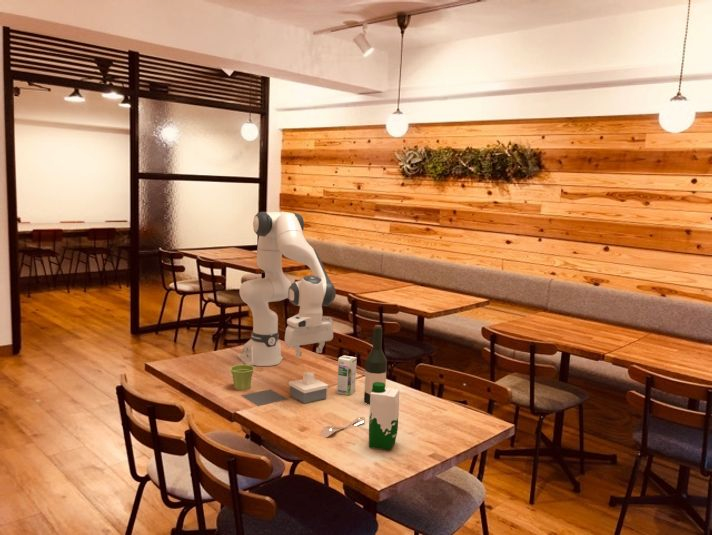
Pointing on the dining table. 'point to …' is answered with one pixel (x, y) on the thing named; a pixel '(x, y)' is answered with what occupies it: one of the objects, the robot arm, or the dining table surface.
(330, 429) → the silver spoon
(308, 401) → the dish
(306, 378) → the lid
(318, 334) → the robot arm
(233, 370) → the plant pot
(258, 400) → the coaster
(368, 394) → the wine bottle
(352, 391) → the syrup box
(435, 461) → the dining table surface
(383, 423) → the milk carton
